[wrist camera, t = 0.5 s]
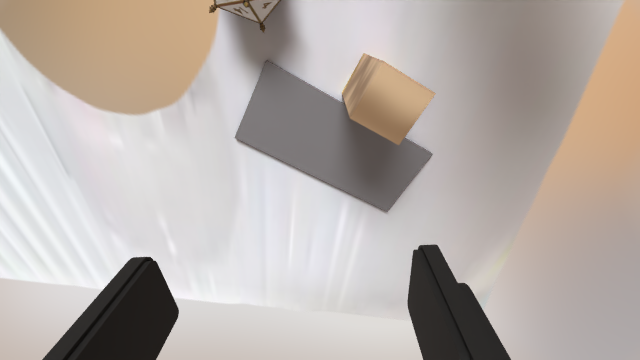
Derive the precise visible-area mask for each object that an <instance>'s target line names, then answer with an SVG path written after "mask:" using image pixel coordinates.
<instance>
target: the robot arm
mask: <svg viewBox="0 0 640 360" xmlns="http://www.w3.org/2000/svg"><path fill="white" fill-rule="evenodd" d="M408 309H409V313H410V317H411V320H412V323H413V327H414V330H415V333H416V336H417V340H418V343H419V347H420V350H421V353H422V356H423V360H511V359H510V357H509V355H508V353H507V352H506V350H505V348H504V347H503V345H502V343H501V341H500V339H499V338H498V336H497V334H496V333H495V331H494V329H493V327H492V325H491V324H490V322H489V320H488V318H487V317H486V315H485V313H484V311H483V310H482V308H481V306H480V304H479V303H478V301H477V299H476V297H475V296H474V294H473V292H472V290H471V289H470V287H469V286H468V285H467V284H465V283H457V281H456V279H455V277H454V275H453V273H452V272H451V270H450V268H449V266H448V264H447V262H446V260H445V258H444V257H443V255H442V253H441V251H440V249H439V247H438V246H437V245H420V246H419V247H418V250H414V251H413V258H412V267H411V276H410V285H409V294H408ZM178 314H179V310H178V307H177V305H176V303H175V300H174V298H173V296H172V294H171V292H170V290H169V288H168V285H167V283H166V281H165V279H164V277H163V275H162V272H161V270H160V268H159V266H158V264H157V262H156V261H153V259H152V258H151V257H135V258H131V259H130V260H129V261H128V262H127V263H126V264H125V265H124V267H123V268H122V269H121V270H120V271H119V272H118V273H117V275H116V276H115V277H114V278H113V279H112V280H111V281H110V283H109V284H108V285H107V286H106V287H105V288H104V289H103V291H102V292H101V293H100V294H99V295H98V296H97V298H96V299H95V300H94V301H93V302H92V303H91V304H90V306H89V307H88V308H87V309H86V310H85V311H84V312H83V314H82V315H81V316H80V317H79V318H78V319H77V320H76V322H75V323H74V324H73V325H72V326H71V327H70V328H69V330H68V331H67V332H66V333H65V334H64V335H63V337H62V338H61V339H60V340H59V341H58V342H57V344H56V345H55V346H54V347H53V348H52V349H51V350H50V352H49V353H48V354H47V355H46V356H45V357H44V358H43V360H156V358H157V357H158V355H159V353H160V351H161V349H162V347H163V345H164V343H165V341H166V339H167V337H168V336H169V334H170V332H171V330H172V328H173V326H174V324H175V322H176V320H177V318H178Z"/></svg>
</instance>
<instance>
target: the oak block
mask: <svg viewBox="0 0 640 360" xmlns="http://www.w3.org/2000/svg"><path fill="white" fill-rule="evenodd" d="M435 94H436V93H434V92H432V91H431V90H429V89H428V88H426V87H424V86H423V85H421V84H420V83H418V82H416V81H415V80H413V79H411V78H410V77H408V76H407V75H405V74H403V73H402V72H400V71H399V70H397V69H395V68H394V67H392V66H390V65H389V64H387V63H386V62H384V61H382V60H379V59H377V58H374V57H372V56H369V55H367V54H363V56H362V58H361V59H360V61H359V63H358V65H357V67H356V68H355V70H354V72H353V74H352V75H351V77H350V79H349V81H348V83H347V84H346V86H345V88H344V90H343V92H342V95H343V98H344V101H345V104H346V107H347V111H348V114H349V117H350V119H352V120H354V121H356V122H357V123H359V124H361V125H363V126H365V127H367V128H368V129H370V130H372V131H374V132H376V133H377V134H379V135H381V136H383V137H385V138H386V139H388V140H390V141H392V142H394V143H396V144H397V145H399V144H400V143H401V142H402V140H403V139H404V137H405V136H406V135H407V133H408V132H409V130H410V129H411V128H412V126H413V125H414V123H415V122H416V121H417V119H418V118H419V116H420V115H421V114H422V112H423V111H424V109H425V108H426V107H427V105H428V104H429V102H430V101H431V99H432V98H433V97H434V95H435Z"/></svg>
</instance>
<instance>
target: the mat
mask: <svg viewBox="0 0 640 360" xmlns="http://www.w3.org/2000/svg"><path fill="white" fill-rule="evenodd" d="M235 138H236V139H238V140H240V141H242V142H244V143H246V144H248V145H250V146H252V147H254V148H257V149H259V150H261V151H263V152H265V153H267V154H269V155H271V156H273V157H275V158H277V159H279V160H281V161H283V162H285V163H287V164H289V165H292V166H294V167H296V168H298V169H300V170H302V171H304V172H306V173H308V174H310V175H312V176H314V177H316V178H318V179H320V180H322V181H324V182H327V183H329V184H331V185H333V186H335V187H337V188H339V189H341V190H343V191H345V192H347V193H349V194H351V195H353V196H355V197H357V198H359V199H362V200H364V201H366V202H368V203H370V204H372V205H374V206H376V207H378V208H380V209H382V210H384V211H386V212H388V210H389V209H390V208H391V206H392V205H393V204H394V203H395V201H396V200H397V199H398V198H399V196H400V195H401V194H402V192H403V191H404V190H405V189H406V187H407V186H408V185H409V184H410V182H411V181H412V180H413V178H414V177H415V176H416V175H417V173H418V172H419V171H420V170H421V168H422V167H423V166H424V164H425V163H426V162H427V161H428V159H429V158H430V157H431V156H432V153H431V152H429V151H427V150H426V149H424V148H422V147H420V146H419V145H417V144H415V143H413V142H411V141H410V140H408V139H406V138H404V139H403V140H402V142H401V143H400V144H399V145H397V144H396V143H394V142H392V141H390V140H388V139H386V138H385V137H383V136H381V135H379V134H377V133H376V132H374V131H372V130H370V129H368V128H367V127H365V126H363V125H361V124H359V123H357V122H356V121H354V120H352V119H350V117H349V114H348V111H347V107H346V104H344V103H342V102H340V101H338V100H337V99H335V98H333V97H331V96H330V95H328V94H326V93H324V92H322V91H321V90H319V89H317V88H315V87H314V86H312V85H310V84H308V83H306V82H305V81H303V80H301V79H299V78H297V77H296V76H294V75H292V74H290V73H289V72H287V71H285V70H283V69H281V68H280V67H278V66H276V65H274V64H273V63H271V62H269V61H266V63H265V65H264V68H263V70H262V73H261V75H260V77H259V80H258V82H257V85H256V87H255V90H254V92H253V94H252V97H251V99H250V102H249V104H248V107H247V109H246V111H245V114H244V116H243V119H242V121H241V123H240V126H239V128H238V131H237V133H236V136H235Z"/></svg>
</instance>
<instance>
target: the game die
mask: <svg viewBox="0 0 640 360" xmlns="http://www.w3.org/2000/svg"><path fill="white" fill-rule="evenodd" d="M280 1H281V0H214V5H212V6H211V7H210V11H209V13H212V12H214V11H215V10H216V8H217V7H218V8H221V9H223V10H226V11H228V12H231V13H234V14H236V15H239V16H242V17H244V18H247V19H249V20H252V21H255V22H257V23H260V30H262V31H263V33H264V31H265V25H264V24H263V22H264V21H265V19H266V18H267V17H268V16H269V14H270V13H271V12H272V11H273V9H274V8H275V7H276V6H277V5H278V3H279V2H280Z"/></svg>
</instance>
